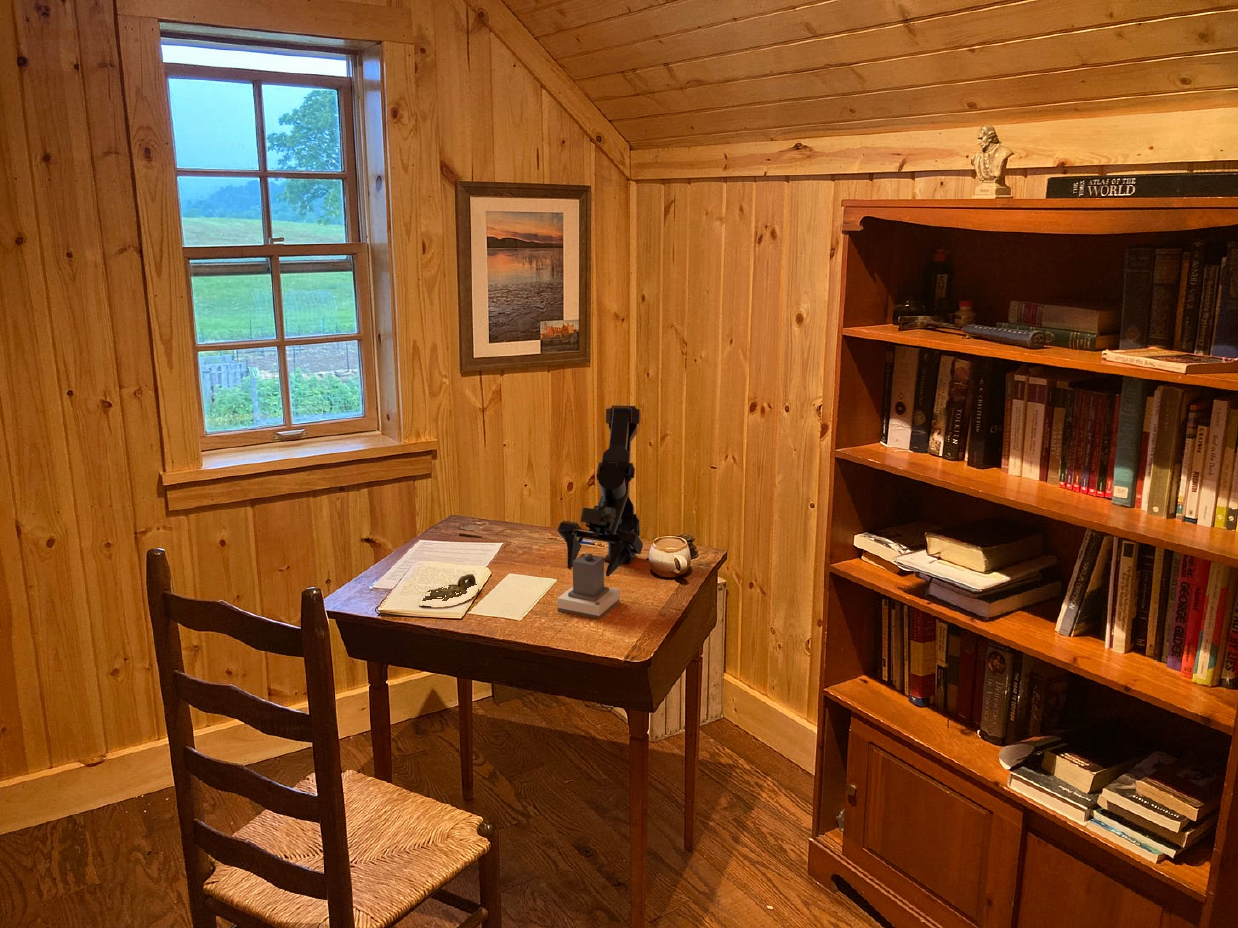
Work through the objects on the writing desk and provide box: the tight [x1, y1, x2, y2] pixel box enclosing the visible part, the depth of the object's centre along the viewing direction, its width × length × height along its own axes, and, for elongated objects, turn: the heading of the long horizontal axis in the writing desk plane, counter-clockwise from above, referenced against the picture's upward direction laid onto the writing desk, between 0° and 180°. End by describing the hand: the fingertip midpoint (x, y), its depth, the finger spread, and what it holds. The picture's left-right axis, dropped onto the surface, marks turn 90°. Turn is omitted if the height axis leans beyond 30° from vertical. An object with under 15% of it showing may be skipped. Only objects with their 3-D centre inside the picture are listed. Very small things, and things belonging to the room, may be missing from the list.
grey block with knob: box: [568, 553, 610, 602], centre depth 213 cm, size 7×7×11 cm
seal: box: [422, 573, 478, 601], centre depth 219 cm, size 9×5×15 cm
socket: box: [556, 586, 620, 620], centre depth 215 cm, size 10×10×3 cm
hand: (587, 572), depth 213 cm, fingers open, 9 cm apart
